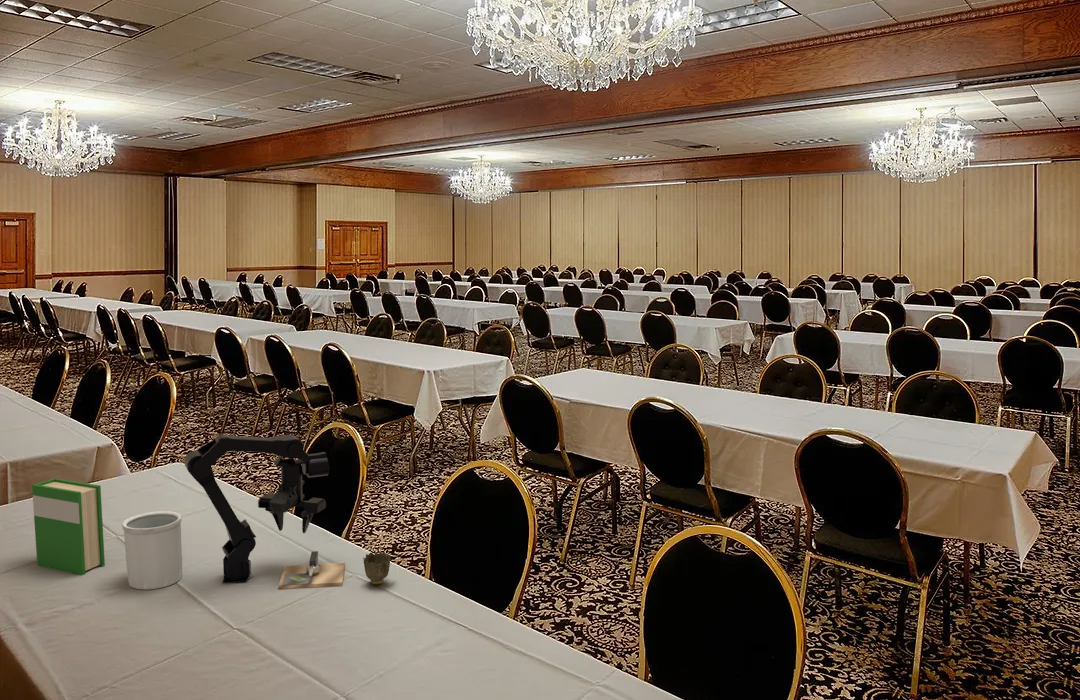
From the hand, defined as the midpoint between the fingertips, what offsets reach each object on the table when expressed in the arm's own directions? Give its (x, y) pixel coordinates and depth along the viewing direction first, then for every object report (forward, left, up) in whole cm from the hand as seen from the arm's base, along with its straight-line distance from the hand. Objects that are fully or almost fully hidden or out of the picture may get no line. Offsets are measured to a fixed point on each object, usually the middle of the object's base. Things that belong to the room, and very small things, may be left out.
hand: (292, 531), depth 239 cm
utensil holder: (-37, -4, -11) cm, 39 cm away
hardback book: (-63, +10, -11) cm, 65 cm away
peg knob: (+6, -7, -9) cm, 14 cm away
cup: (+24, -15, -11) cm, 30 cm away
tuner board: (+6, -8, -11) cm, 15 cm away
